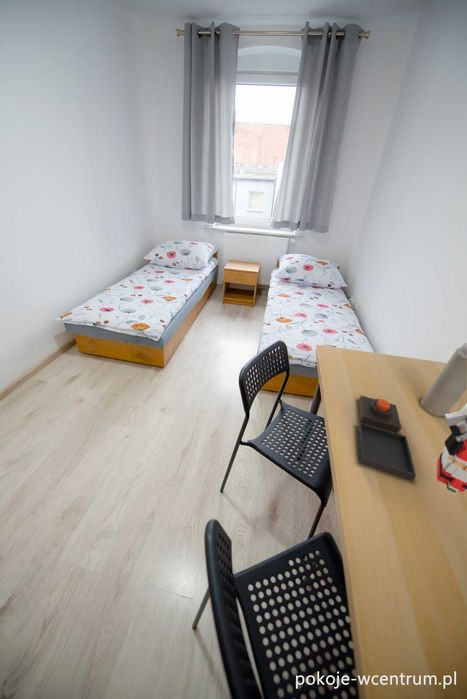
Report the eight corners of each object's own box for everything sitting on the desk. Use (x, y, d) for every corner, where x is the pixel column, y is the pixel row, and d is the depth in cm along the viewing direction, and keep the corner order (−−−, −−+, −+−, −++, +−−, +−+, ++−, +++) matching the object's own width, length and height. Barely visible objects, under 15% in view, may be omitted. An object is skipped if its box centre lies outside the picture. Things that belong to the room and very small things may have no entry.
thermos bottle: (446, 406, 96) (498, 338, 80) (446, 420, 90) (503, 350, 75) (421, 396, 99) (466, 329, 84) (420, 408, 94) (468, 339, 78)
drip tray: (402, 441, 81) (406, 436, 80) (411, 480, 71) (416, 475, 69) (356, 427, 84) (359, 422, 82) (359, 463, 73) (362, 458, 72)
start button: (387, 405, 87) (389, 401, 86) (388, 413, 84) (391, 409, 83) (375, 401, 88) (377, 397, 87) (376, 409, 85) (378, 405, 84)
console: (392, 410, 91) (398, 401, 89) (397, 433, 83) (404, 423, 81) (358, 401, 94) (362, 391, 91) (359, 422, 86) (365, 412, 83)
